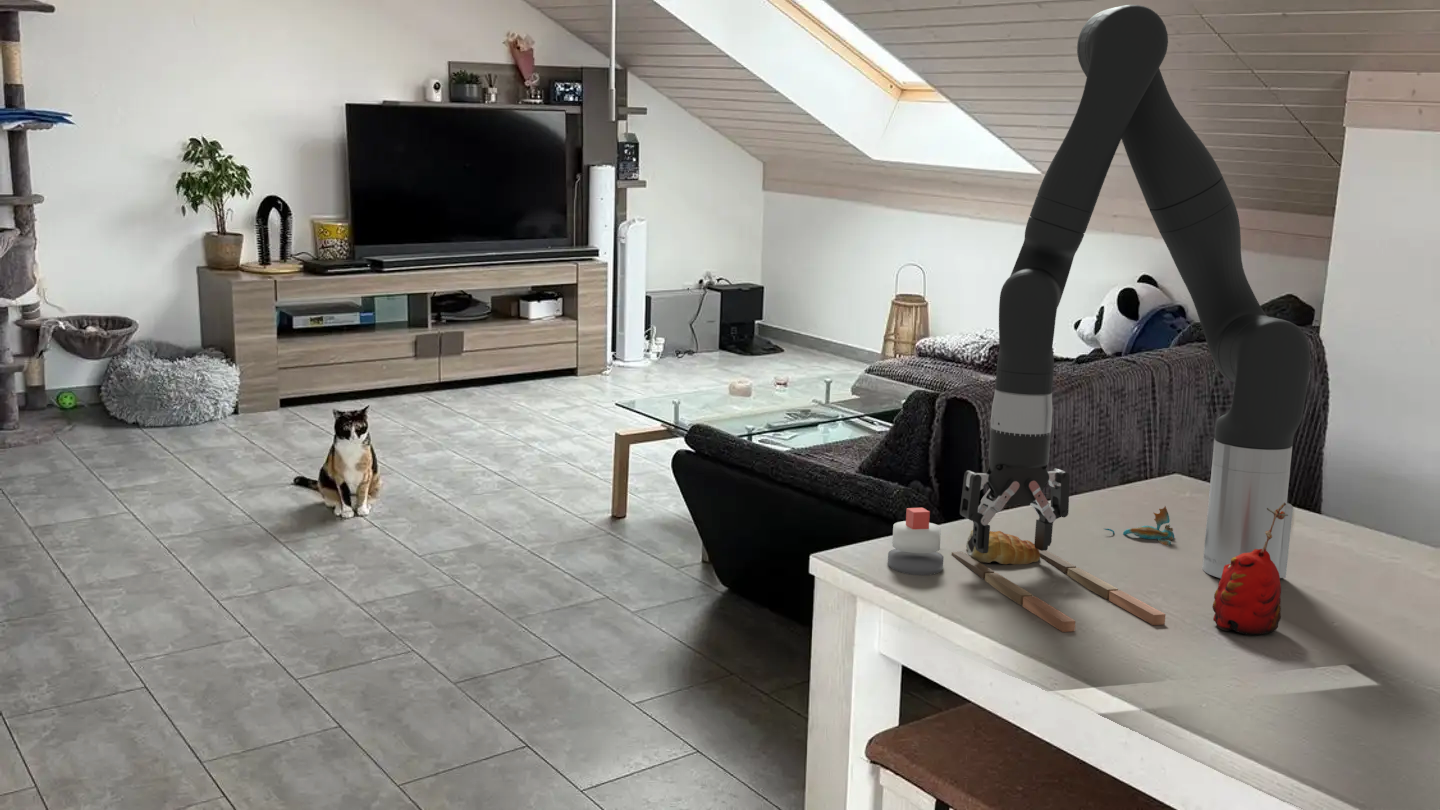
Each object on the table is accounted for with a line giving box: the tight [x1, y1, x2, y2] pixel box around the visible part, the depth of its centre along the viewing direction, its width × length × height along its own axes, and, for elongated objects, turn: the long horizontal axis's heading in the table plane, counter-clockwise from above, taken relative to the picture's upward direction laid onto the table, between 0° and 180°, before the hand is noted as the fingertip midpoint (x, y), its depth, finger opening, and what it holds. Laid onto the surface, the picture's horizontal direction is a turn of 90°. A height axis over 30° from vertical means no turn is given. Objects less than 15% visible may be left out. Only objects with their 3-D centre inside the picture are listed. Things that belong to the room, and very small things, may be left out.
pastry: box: [965, 529, 1041, 565], centre depth 170 cm, size 9×7×4 cm
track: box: [951, 550, 1167, 633], centre depth 159 cm, size 13×28×1 cm, turn 16°
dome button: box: [891, 507, 942, 553], centre depth 165 cm, size 6×6×5 cm
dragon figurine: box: [1104, 505, 1175, 547], centre depth 181 cm, size 6×7×8 cm
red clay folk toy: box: [1212, 503, 1288, 636], centre depth 145 cm, size 8×7×15 cm
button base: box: [887, 548, 944, 576], centre depth 165 cm, size 7×7×2 cm
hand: (1011, 550), depth 167 cm, fingers open, 8 cm apart
